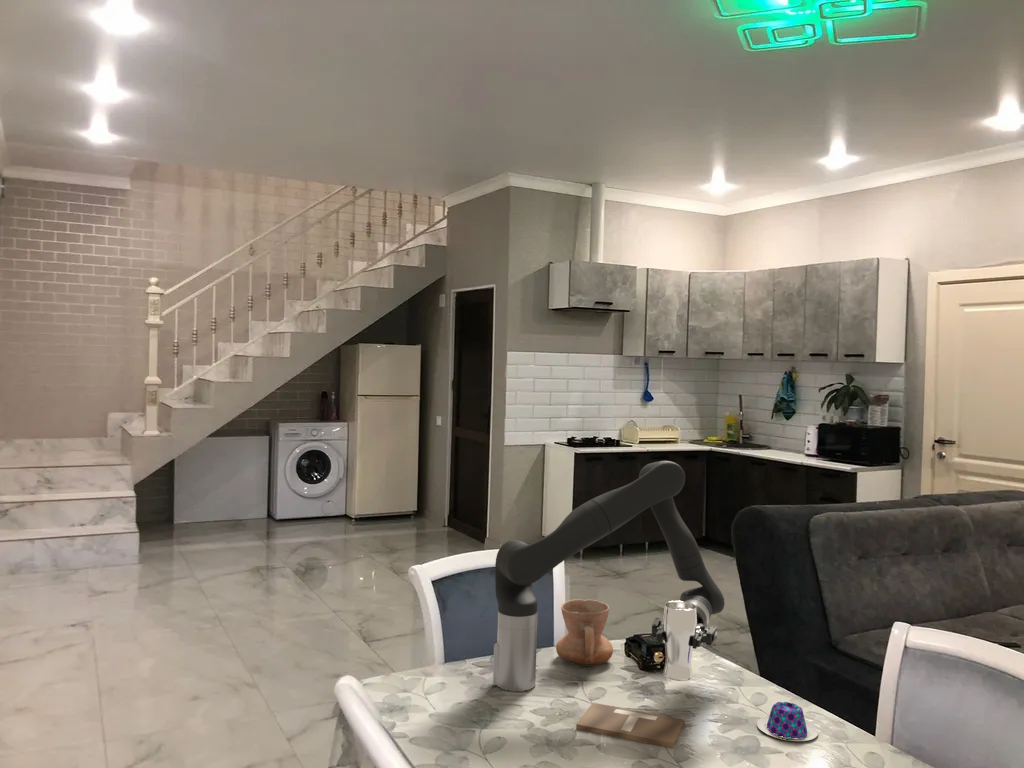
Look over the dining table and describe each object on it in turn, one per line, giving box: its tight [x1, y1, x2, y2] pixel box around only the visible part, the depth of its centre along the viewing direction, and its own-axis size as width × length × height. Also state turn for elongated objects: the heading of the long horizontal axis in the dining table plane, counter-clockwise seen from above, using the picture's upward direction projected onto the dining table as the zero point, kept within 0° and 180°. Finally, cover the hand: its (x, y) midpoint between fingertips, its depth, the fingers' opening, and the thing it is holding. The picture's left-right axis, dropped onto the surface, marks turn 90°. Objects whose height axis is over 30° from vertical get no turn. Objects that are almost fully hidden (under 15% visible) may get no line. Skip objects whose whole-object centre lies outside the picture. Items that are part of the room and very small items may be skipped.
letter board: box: [575, 702, 686, 749], centre depth 166 cm, size 20×12×1 cm, turn 68°
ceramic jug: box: [555, 598, 614, 667], centre depth 203 cm, size 18×14×14 cm
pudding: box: [756, 701, 819, 742], centre depth 166 cm, size 12×12×5 cm
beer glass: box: [662, 600, 697, 682], centre depth 169 cm, size 7×7×15 cm
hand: (677, 641), depth 167 cm, fingers closed on beer glass, 6 cm apart
